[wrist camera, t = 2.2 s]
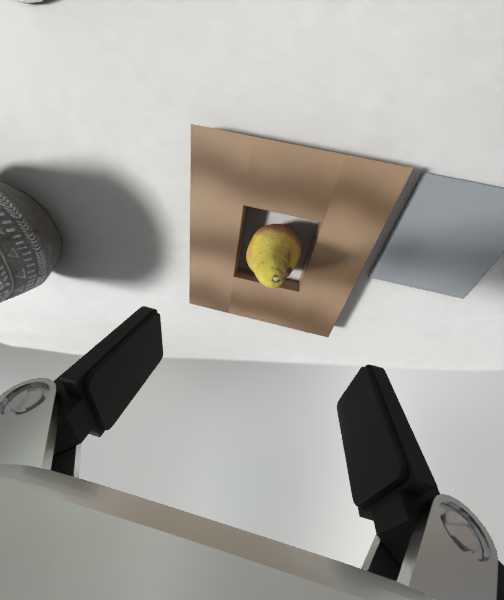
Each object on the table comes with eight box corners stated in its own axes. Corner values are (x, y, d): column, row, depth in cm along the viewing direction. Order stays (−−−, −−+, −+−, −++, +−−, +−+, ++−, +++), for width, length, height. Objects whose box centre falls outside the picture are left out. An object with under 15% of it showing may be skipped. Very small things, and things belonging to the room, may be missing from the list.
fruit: (244, 225, 23) (206, 267, 13) (297, 213, 22) (300, 249, 11) (257, 271, 26) (233, 336, 16) (304, 263, 24) (312, 329, 14)
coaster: (422, 173, 18) (426, 173, 18) (543, 197, 18) (550, 197, 17) (368, 275, 24) (370, 277, 23) (459, 295, 23) (463, 298, 23)
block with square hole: (202, 129, 19) (191, 123, 17) (399, 168, 18) (413, 168, 16) (197, 293, 29) (189, 303, 27) (325, 324, 28) (328, 337, 26)
